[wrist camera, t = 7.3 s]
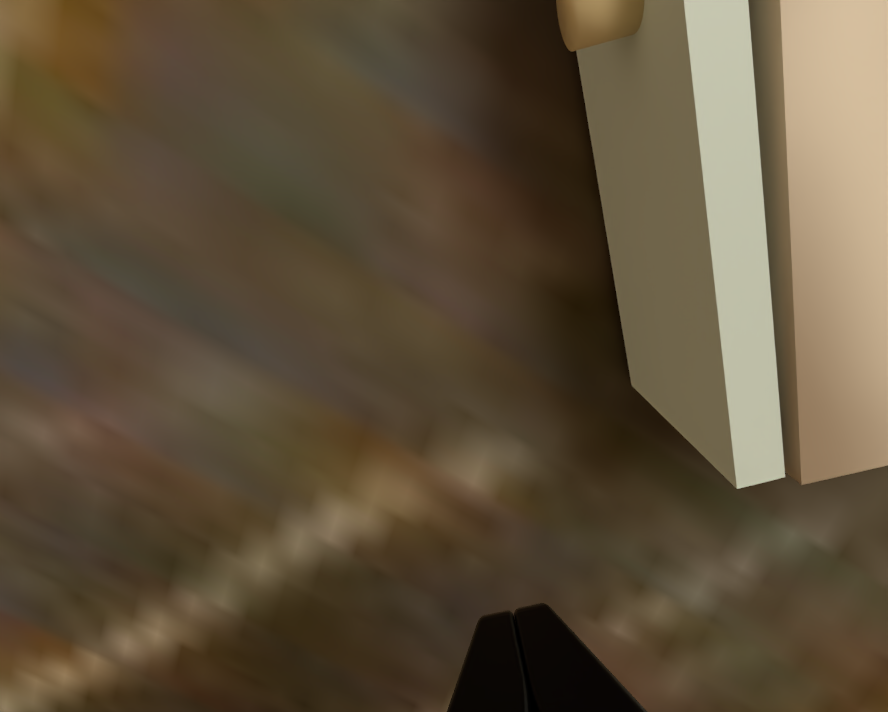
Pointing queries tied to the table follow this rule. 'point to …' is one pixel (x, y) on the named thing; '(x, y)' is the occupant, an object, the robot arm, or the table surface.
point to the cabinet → (826, 225)
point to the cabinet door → (685, 217)
